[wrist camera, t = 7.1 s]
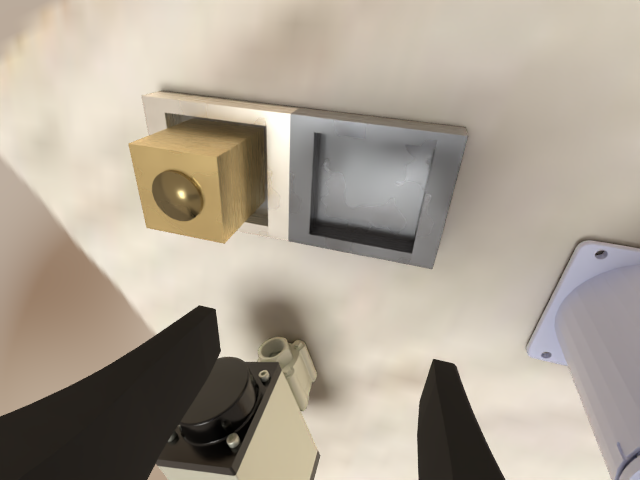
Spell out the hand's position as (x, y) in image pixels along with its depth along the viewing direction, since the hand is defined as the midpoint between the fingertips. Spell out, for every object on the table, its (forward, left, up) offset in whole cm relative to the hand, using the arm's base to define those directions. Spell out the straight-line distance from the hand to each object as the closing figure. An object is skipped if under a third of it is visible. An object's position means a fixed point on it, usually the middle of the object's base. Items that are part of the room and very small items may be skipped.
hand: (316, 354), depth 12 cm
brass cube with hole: (+8, -2, -10) cm, 13 cm away
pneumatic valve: (+4, +13, -11) cm, 17 cm away
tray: (+4, -2, -10) cm, 11 cm away
